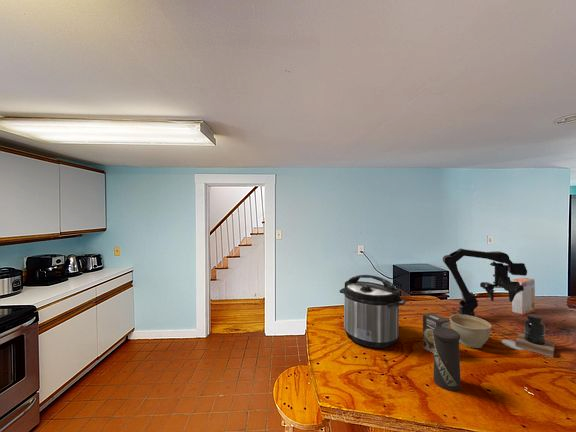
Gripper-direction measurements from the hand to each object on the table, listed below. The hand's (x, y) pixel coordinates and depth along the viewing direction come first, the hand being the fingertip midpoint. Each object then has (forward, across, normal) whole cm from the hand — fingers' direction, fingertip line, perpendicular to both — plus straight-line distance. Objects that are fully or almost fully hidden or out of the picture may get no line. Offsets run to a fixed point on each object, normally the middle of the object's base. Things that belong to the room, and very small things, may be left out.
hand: (501, 301), depth 136 cm
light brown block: (+13, -1, -24) cm, 27 cm away
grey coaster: (+14, -9, -23) cm, 28 cm away
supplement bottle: (+11, -1, -24) cm, 26 cm away
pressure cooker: (+13, -75, -24) cm, 80 cm away
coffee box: (+13, -48, -35) cm, 61 cm away
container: (+13, -53, -57) cm, 79 cm away
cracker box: (+13, +25, +21) cm, 35 cm away
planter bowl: (+13, -29, -25) cm, 40 cm away
